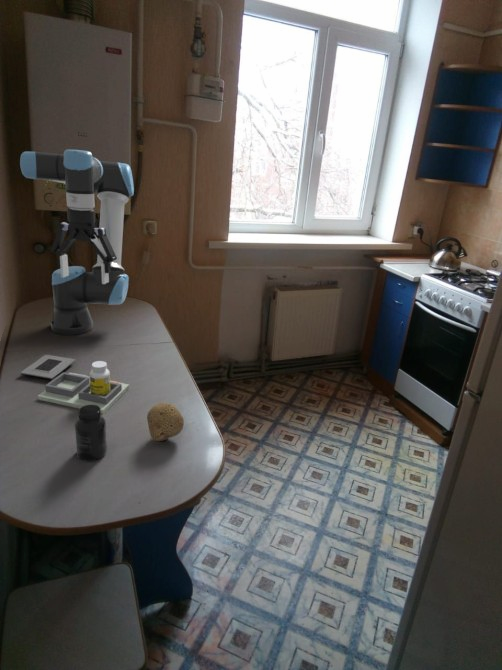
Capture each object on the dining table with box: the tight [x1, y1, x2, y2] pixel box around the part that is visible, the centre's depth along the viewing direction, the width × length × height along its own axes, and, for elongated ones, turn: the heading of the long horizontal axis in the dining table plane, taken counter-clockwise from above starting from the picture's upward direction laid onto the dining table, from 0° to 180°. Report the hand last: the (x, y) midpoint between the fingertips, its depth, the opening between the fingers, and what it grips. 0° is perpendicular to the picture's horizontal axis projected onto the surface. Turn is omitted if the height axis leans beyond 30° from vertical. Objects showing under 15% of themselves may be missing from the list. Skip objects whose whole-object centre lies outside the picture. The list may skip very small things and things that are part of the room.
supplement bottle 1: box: [89, 360, 111, 396], centre depth 128 cm, size 5×5×10 cm
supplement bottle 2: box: [74, 405, 108, 462], centre depth 106 cm, size 7×7×12 cm
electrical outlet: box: [19, 354, 76, 380], centre depth 142 cm, size 13×10×2 cm
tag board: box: [37, 371, 130, 415], centre depth 131 cm, size 15×20×3 cm
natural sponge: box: [146, 402, 185, 442], centre depth 113 cm, size 9×9×10 cm
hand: (85, 279), depth 137 cm, fingers open, 13 cm apart
